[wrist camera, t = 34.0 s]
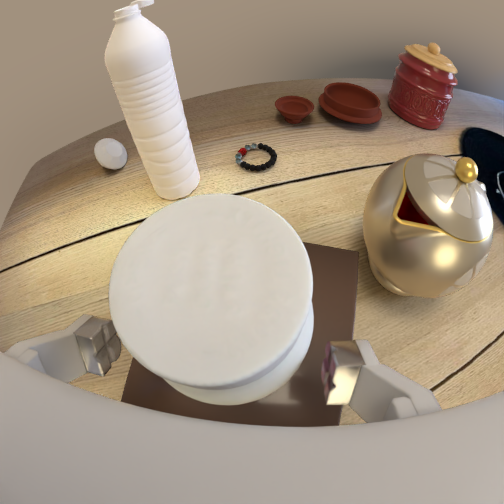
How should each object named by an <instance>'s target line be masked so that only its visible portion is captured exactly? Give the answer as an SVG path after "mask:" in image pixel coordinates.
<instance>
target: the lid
mask: <svg viewBox="0 0 504 504" xmlns="http://www.w3.org/2000/svg"><path fill="white" fill-rule="evenodd" d="M302 243H303V244H304V247H305V249H306V251H307V254H308V257H309V260H310V265H311V269H312V275H313V294H312V306H313V314H314V325H313V333H312V338H311V342H310V346H309V348H308V351H307V353H306V355H305V358H304V359H303V361H302V363H301V364H300V366H299V368H298V370H297V371H296V372H295V373H294V375H293V376H292V377H291V378H290V379H289V380H288V381H287V383H285V384H284V385H283V386H281V387H280V388H279V389H278V390H276V391H275V392H273V393H272V394H270V395H269V396H267V397H265V398H262V399H259V400H256V401H253V402H249V403H245V404H240V405H216V404H209V403H205V402H201V401H198V400H195V399H193V398H190V397H188V396H186V395H184V394H182V393H181V392H179V391H177V390H176V389H175V388H173V387H172V386H171V385H170V384H168V383H167V382H166V381H165V380H164V379H163V378H162V377H160V376H158V375H156V374H154V373H153V372H151V371H150V370H148V369H147V368H145V367H144V366H143V365H142V364H140V363H139V362H138V361H137V360H136V359H135V358H134V357H133V359H132V363H131V366H130V370H129V373H128V377H127V380H126V384H125V387H124V391H123V395H122V399H121V402H124V403H128V404H131V405H135V406H139V407H143V408H147V409H151V410H155V411H160V412H164V413H169V414H174V415H180V416H185V417H191V418H197V419H203V420H210V421H218V422H226V423H235V424H246V425H259V426H281V427H320V426H339V422H340V417H341V412H342V407H343V405H326V402H325V396H324V389H325V386H324V385H323V384H322V380H321V369H322V363H323V360H324V359H325V358H326V353H325V348H326V344H327V341H349V340H353V332H354V322H355V310H356V298H357V282H358V259H359V252H356V251H351V250H345V249H339V248H334V247H328V246H322V245H317V244H311V243H305V242H302Z"/></svg>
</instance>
